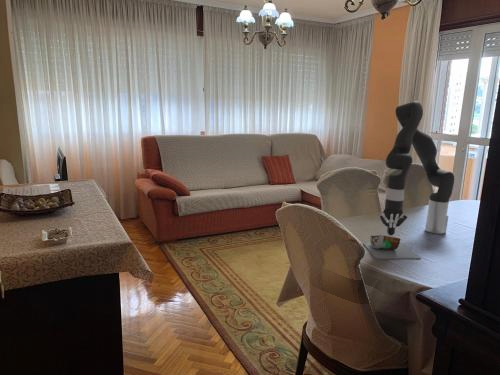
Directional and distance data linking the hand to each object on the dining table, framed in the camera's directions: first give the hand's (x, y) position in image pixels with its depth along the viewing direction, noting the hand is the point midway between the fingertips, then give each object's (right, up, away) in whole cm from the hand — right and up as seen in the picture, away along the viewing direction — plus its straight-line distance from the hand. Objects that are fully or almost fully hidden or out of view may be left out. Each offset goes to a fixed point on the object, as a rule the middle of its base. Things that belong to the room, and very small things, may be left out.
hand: (390, 234), depth 168 cm
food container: (+3, -5, +2) cm, 6 cm away
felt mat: (+1, -8, +2) cm, 8 cm away
